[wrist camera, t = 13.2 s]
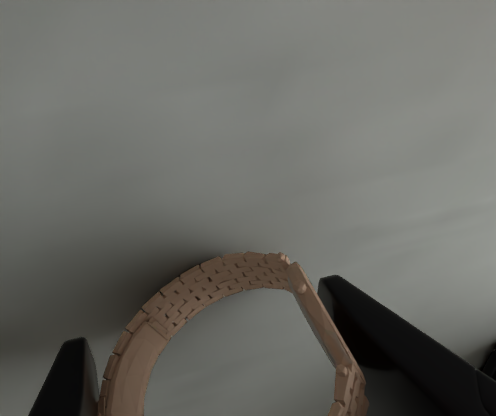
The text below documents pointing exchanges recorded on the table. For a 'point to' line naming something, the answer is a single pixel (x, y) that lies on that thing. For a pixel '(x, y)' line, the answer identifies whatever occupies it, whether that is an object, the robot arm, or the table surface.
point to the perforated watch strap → (201, 285)
